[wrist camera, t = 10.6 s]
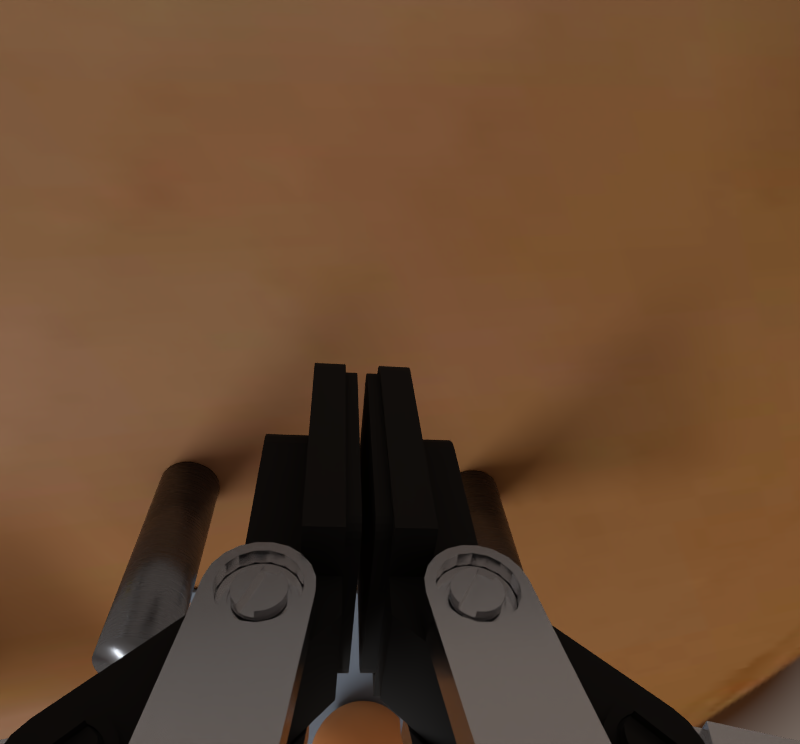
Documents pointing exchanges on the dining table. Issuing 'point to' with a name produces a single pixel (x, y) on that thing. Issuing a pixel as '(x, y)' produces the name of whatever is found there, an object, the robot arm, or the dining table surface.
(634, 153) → the dining table surface
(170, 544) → the post
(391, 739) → the ball
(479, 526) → the post
